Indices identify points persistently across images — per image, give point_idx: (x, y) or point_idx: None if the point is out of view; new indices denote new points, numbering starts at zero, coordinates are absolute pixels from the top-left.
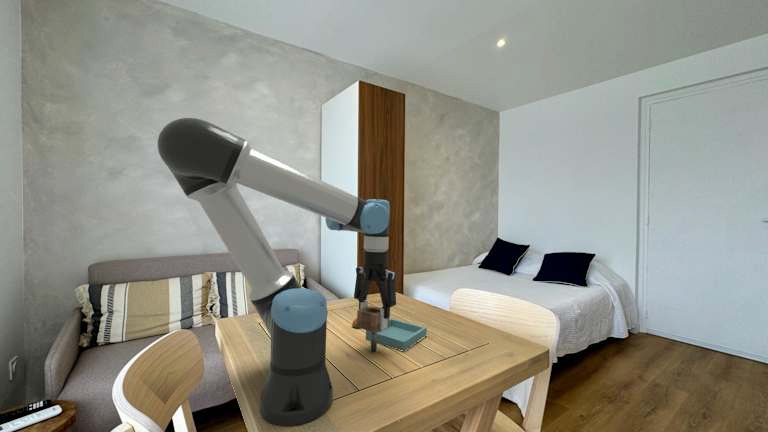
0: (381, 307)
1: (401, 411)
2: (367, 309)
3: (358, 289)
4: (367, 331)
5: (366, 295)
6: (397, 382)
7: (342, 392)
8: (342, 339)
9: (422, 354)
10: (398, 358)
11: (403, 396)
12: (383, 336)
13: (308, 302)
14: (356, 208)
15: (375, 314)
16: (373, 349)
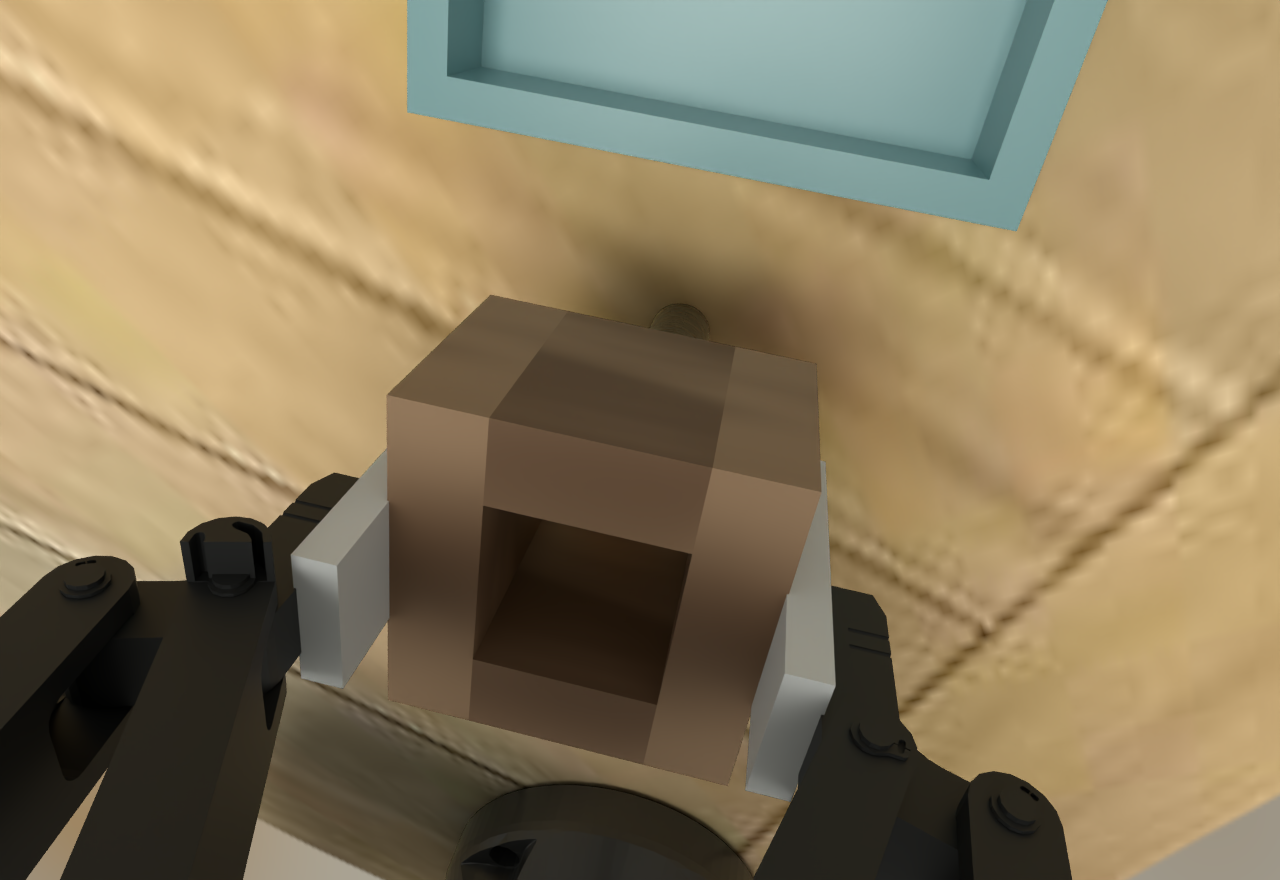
0: (752, 777)
1: (1119, 855)
2: (468, 610)
3: (39, 834)
4: (438, 116)
5: (257, 682)
6: (1041, 665)
7: (751, 805)
8: (271, 227)
9: (1235, 154)
10: (964, 357)
11: (1111, 766)
12: (692, 163)
13: None
14: None
15: (697, 752)
16: None
